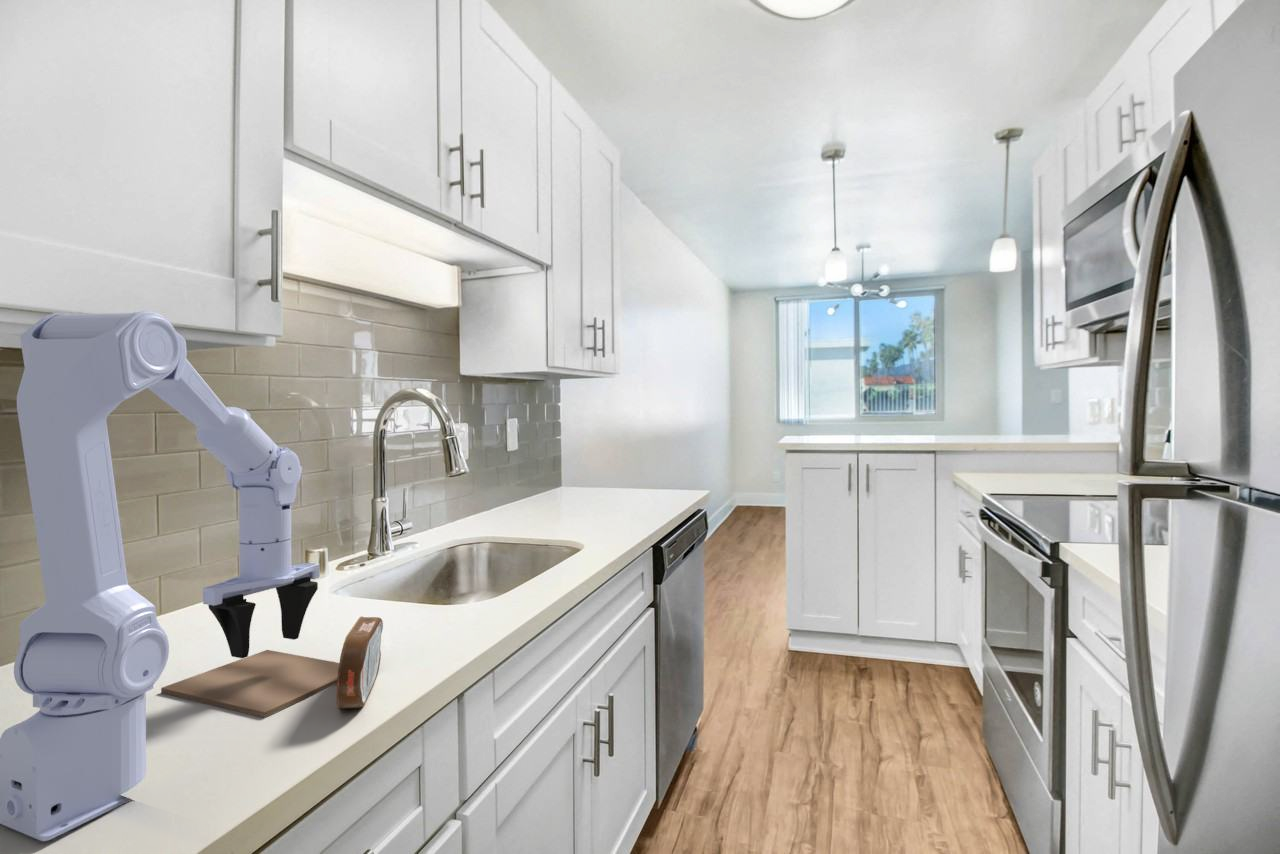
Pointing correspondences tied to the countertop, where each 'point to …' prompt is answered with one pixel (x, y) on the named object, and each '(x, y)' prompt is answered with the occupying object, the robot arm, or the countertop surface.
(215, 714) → the countertop surface
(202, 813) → the countertop surface
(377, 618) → the tin
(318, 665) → the board
